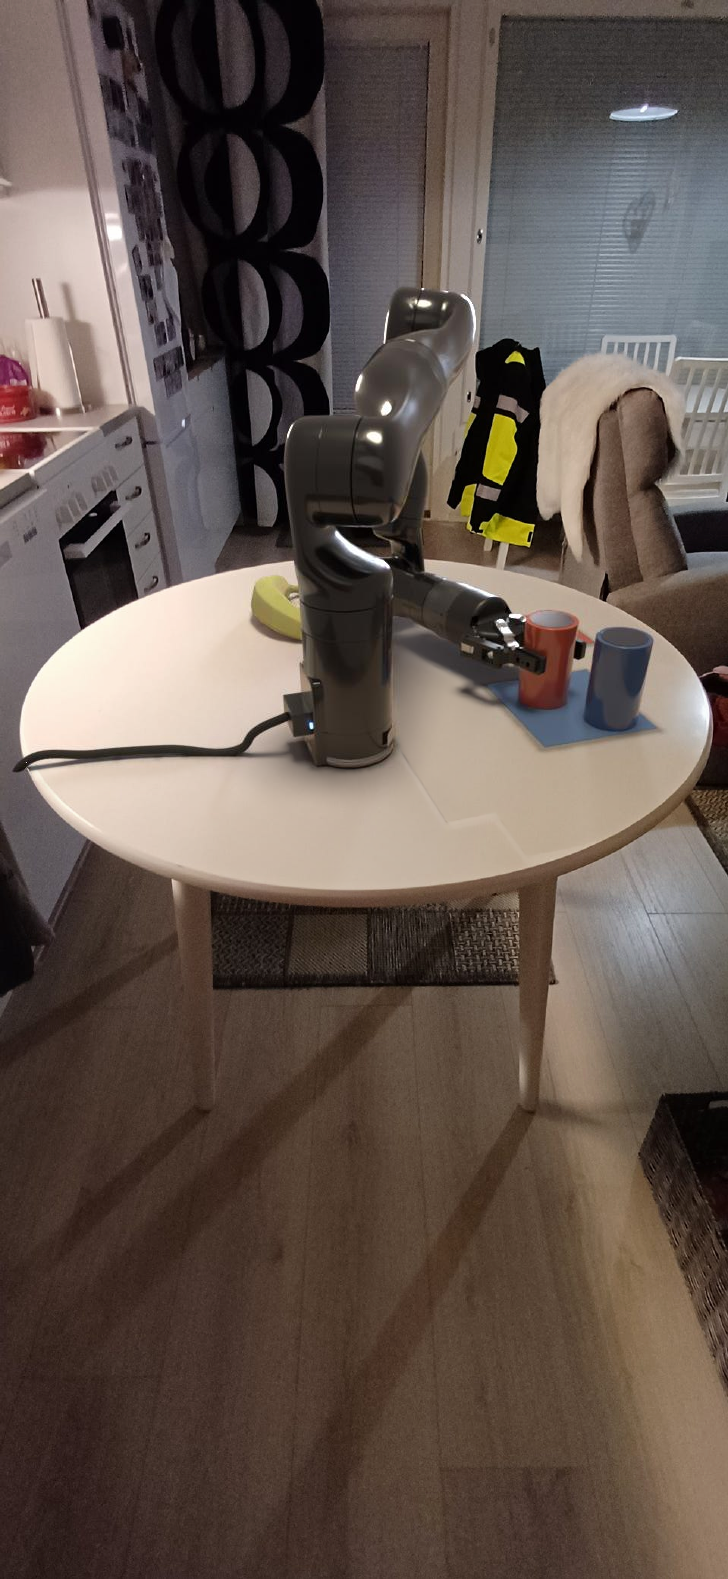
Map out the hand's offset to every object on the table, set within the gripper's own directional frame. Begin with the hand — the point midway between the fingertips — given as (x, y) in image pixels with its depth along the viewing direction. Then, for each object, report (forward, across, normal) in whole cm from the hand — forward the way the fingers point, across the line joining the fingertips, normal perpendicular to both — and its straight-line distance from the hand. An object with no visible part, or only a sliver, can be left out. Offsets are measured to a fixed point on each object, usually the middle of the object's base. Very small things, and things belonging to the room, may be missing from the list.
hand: (563, 658), depth 89 cm
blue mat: (+1, +1, +6) cm, 6 cm away
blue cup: (+6, +2, +6) cm, 9 cm away
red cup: (-2, 0, +6) cm, 6 cm away
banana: (-45, -9, +6) cm, 46 cm away
